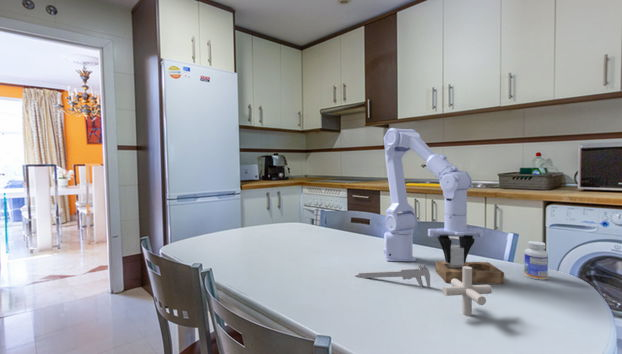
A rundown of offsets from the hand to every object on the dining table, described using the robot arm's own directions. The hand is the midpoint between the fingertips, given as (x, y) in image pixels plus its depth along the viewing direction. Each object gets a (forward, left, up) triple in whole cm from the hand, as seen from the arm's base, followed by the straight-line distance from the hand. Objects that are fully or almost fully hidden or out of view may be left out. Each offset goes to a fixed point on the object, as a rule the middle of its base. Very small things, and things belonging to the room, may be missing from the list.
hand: (455, 261), depth 89 cm
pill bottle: (+22, +2, -4) cm, 23 cm away
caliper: (-19, -4, -5) cm, 20 cm away
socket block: (+3, 0, -4) cm, 6 cm away
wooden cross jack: (-6, -22, -4) cm, 24 cm away
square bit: (0, 0, -3) cm, 3 cm away
